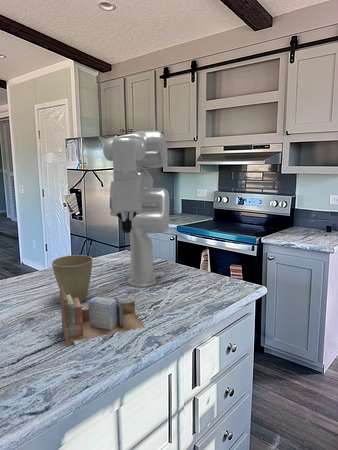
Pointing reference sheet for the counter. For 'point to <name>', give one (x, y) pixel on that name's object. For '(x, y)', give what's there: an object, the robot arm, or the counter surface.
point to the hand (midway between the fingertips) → (126, 232)
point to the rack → (79, 320)
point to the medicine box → (102, 313)
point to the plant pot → (73, 274)
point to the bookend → (119, 313)
